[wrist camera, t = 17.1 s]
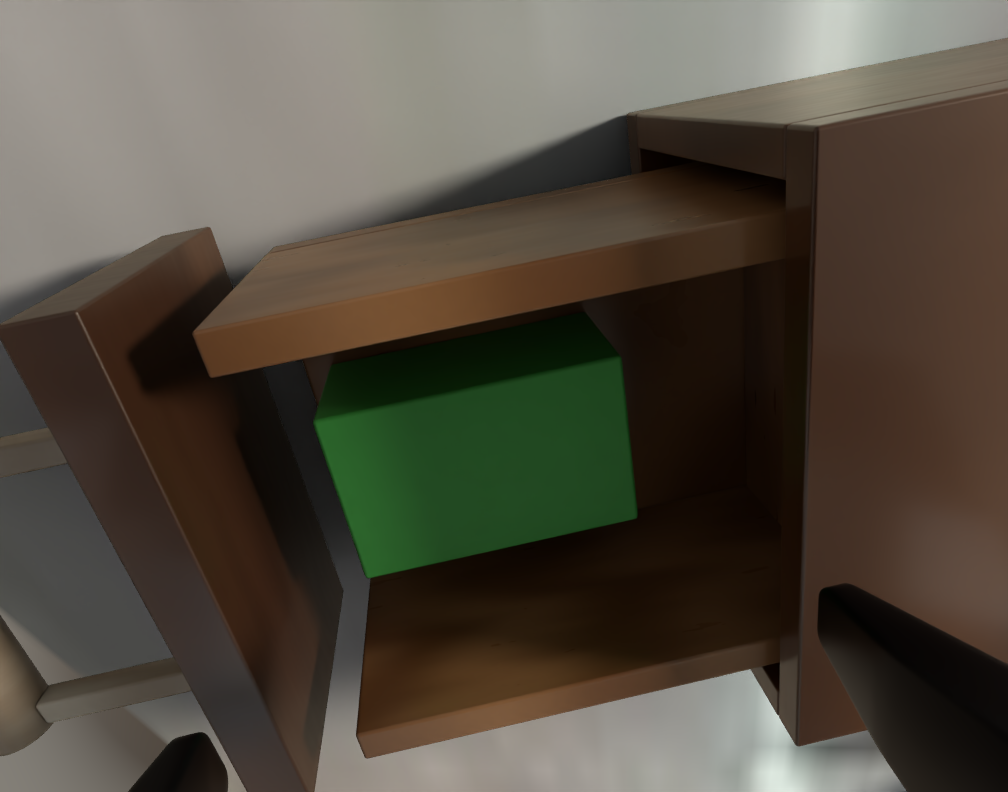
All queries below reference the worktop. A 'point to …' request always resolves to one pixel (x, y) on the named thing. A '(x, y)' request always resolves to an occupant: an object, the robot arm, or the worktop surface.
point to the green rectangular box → (478, 443)
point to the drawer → (446, 585)
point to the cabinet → (879, 343)
